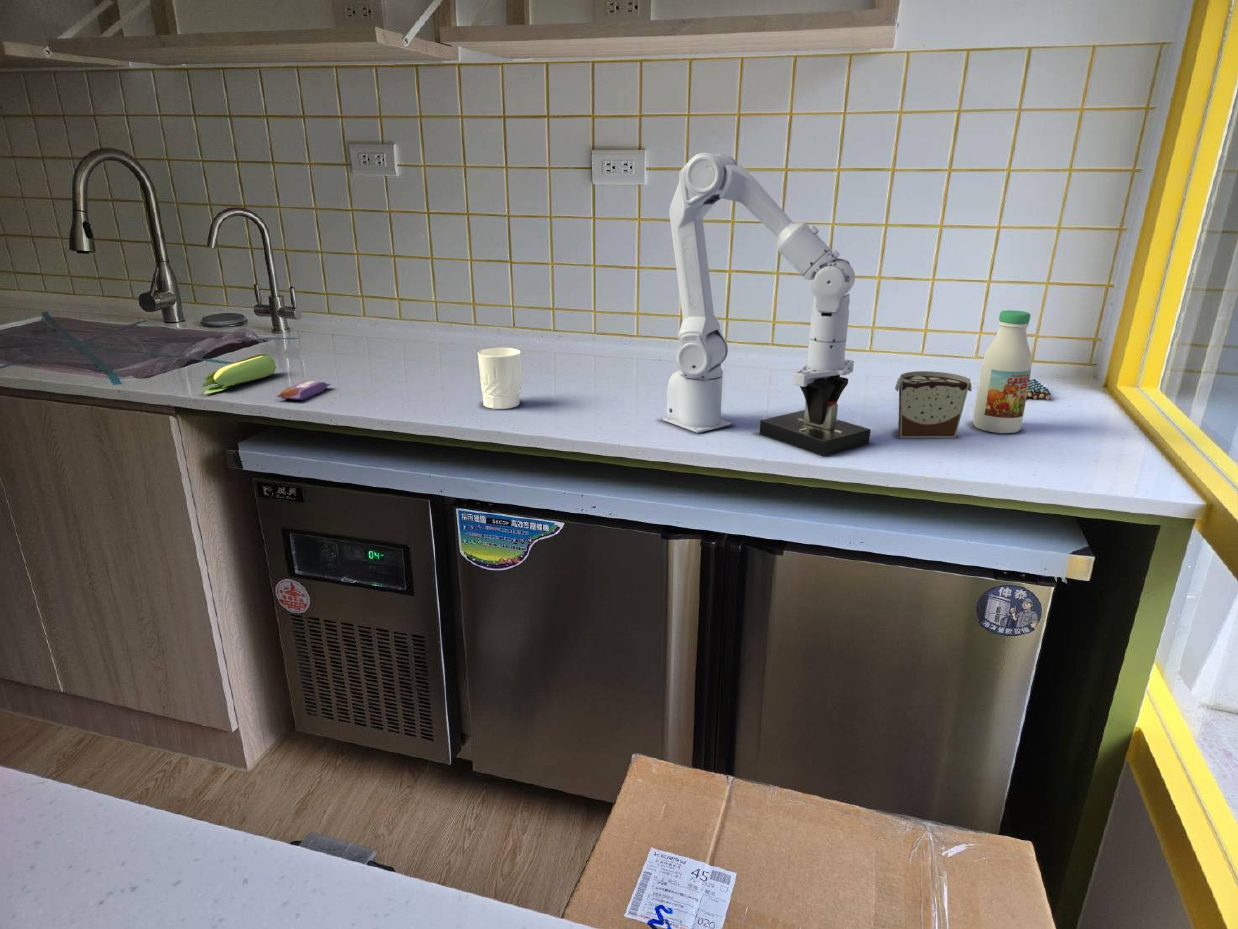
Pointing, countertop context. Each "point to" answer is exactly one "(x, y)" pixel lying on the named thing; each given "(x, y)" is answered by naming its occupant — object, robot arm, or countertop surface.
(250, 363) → the edible corn
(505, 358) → the white cup
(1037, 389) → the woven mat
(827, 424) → the grey upright block
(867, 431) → the panel
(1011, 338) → the milk bottle
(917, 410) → the food container
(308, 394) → the snack package
